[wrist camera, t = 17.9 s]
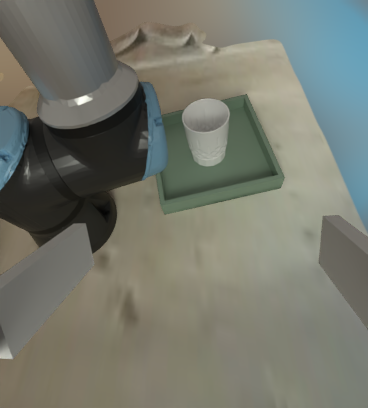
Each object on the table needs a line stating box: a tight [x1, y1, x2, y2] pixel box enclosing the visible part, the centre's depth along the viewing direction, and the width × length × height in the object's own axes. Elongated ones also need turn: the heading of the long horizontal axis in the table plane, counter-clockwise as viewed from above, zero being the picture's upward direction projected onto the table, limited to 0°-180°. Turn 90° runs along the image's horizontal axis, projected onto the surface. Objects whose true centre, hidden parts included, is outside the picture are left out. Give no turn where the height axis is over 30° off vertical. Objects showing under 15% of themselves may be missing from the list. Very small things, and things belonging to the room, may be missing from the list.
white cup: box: [182, 98, 230, 167], centre depth 46 cm, size 8×8×10 cm
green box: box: [156, 94, 285, 214], centre depth 50 cm, size 22×22×4 cm
